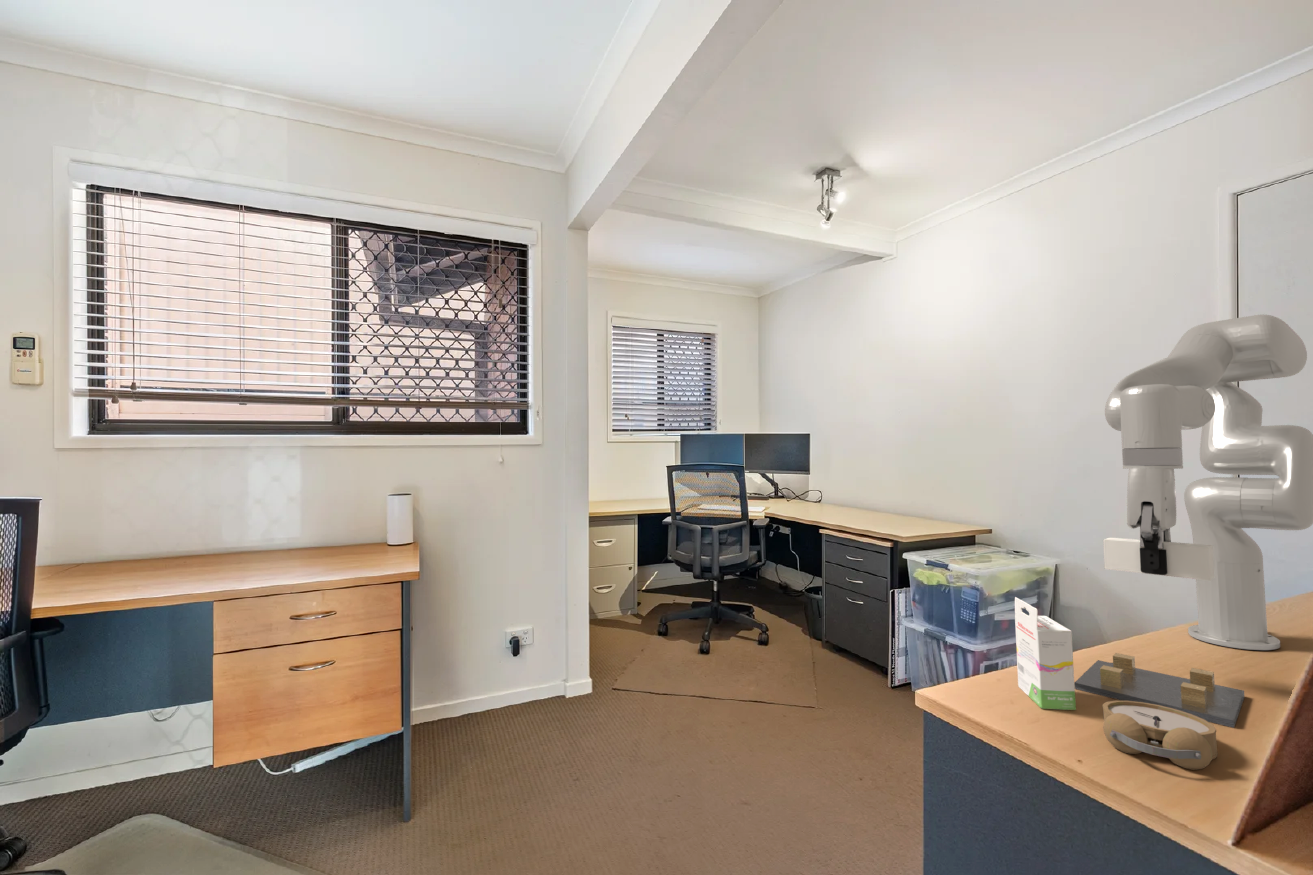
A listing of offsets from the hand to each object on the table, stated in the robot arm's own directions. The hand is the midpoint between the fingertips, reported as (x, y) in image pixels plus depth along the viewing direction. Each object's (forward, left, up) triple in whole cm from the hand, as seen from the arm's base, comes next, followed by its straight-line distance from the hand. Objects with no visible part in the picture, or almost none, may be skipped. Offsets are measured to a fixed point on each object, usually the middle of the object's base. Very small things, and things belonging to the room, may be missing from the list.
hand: (1157, 570), depth 93 cm
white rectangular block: (0, 0, 0) cm, 0 cm away
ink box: (+20, -11, -18) cm, 29 cm away
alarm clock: (+26, +3, -19) cm, 32 cm away
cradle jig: (+6, 0, -18) cm, 19 cm away
